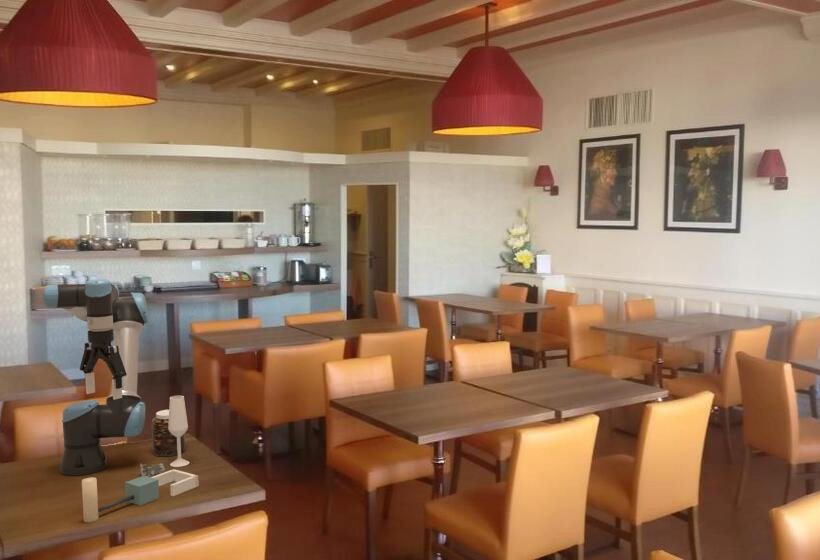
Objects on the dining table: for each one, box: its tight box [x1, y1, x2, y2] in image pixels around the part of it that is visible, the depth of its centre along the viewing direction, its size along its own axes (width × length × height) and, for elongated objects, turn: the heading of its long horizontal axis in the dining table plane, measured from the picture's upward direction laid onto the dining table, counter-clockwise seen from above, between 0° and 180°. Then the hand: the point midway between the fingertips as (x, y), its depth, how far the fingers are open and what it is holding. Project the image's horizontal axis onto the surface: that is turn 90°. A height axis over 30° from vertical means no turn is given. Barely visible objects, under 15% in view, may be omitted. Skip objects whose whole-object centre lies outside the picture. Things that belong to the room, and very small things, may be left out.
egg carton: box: [139, 463, 166, 478], centre depth 262 cm, size 11×8×4 cm
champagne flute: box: [168, 395, 190, 468], centre depth 275 cm, size 7×7×24 cm
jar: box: [151, 409, 186, 458], centre depth 288 cm, size 12×12×15 cm
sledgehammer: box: [81, 475, 160, 523], centre depth 235 cm, size 7×24×12 cm, turn 147°
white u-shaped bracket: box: [151, 468, 200, 497], centre depth 252 cm, size 12×10×4 cm
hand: (104, 395), depth 245 cm, fingers open, 13 cm apart
